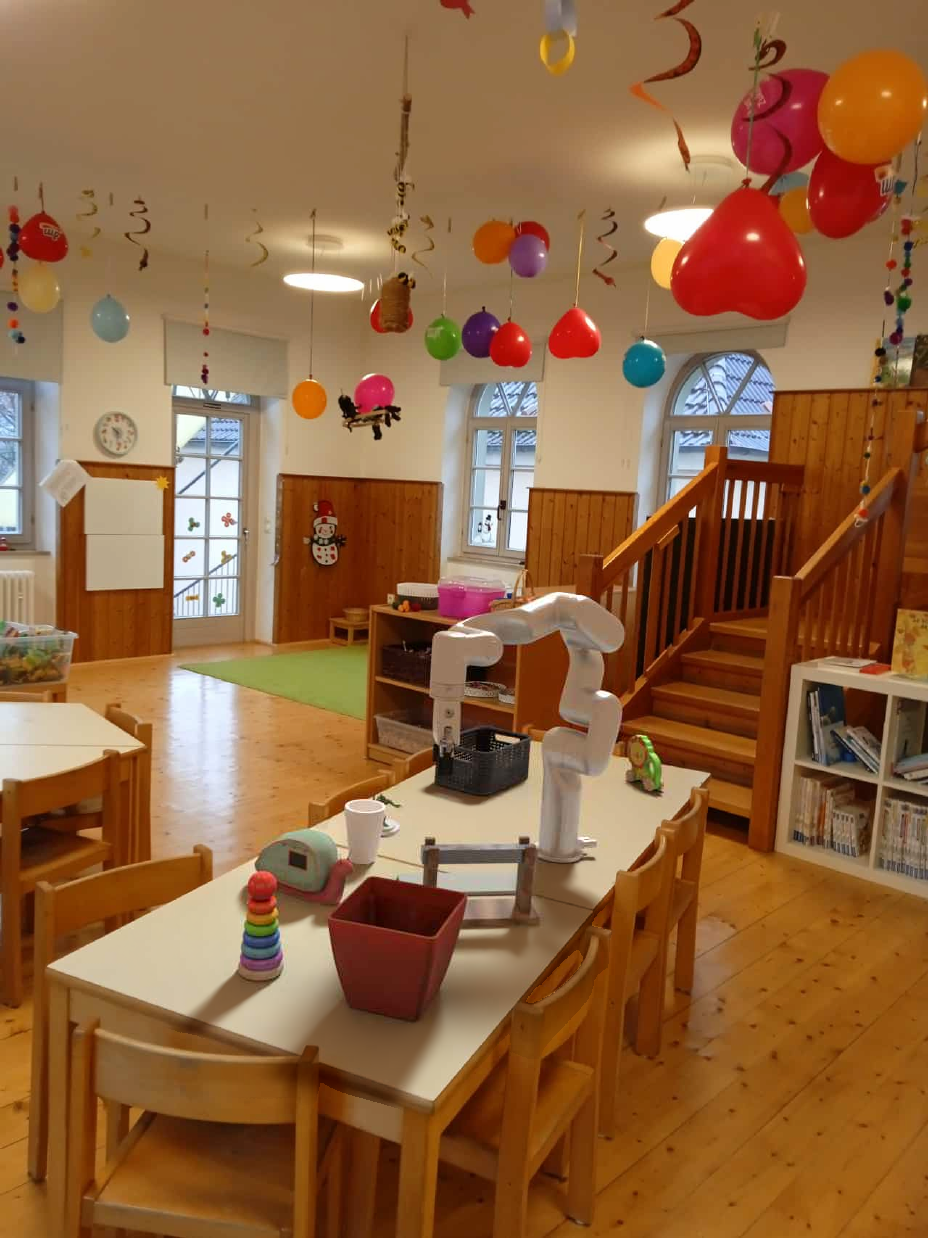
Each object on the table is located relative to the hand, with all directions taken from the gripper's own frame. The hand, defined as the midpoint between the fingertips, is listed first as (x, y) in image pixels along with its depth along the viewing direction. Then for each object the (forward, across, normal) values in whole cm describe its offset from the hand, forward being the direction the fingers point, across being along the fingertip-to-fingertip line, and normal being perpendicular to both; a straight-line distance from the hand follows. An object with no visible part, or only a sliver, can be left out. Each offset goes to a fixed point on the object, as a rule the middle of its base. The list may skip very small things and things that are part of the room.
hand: (442, 768), depth 201 cm
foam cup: (+28, +18, +15) cm, 37 cm away
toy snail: (+28, 0, +28) cm, 40 cm away
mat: (+28, +4, -7) cm, 29 cm away
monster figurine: (+28, +38, +11) cm, 49 cm away
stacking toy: (+28, -33, +35) cm, 56 cm away
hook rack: (+28, -11, -7) cm, 31 cm away
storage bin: (+28, +80, -24) cm, 88 cm away
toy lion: (+28, +78, -74) cm, 111 cm away
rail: (+16, -11, -7) cm, 21 cm away
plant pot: (+28, -42, +11) cm, 52 cm away
